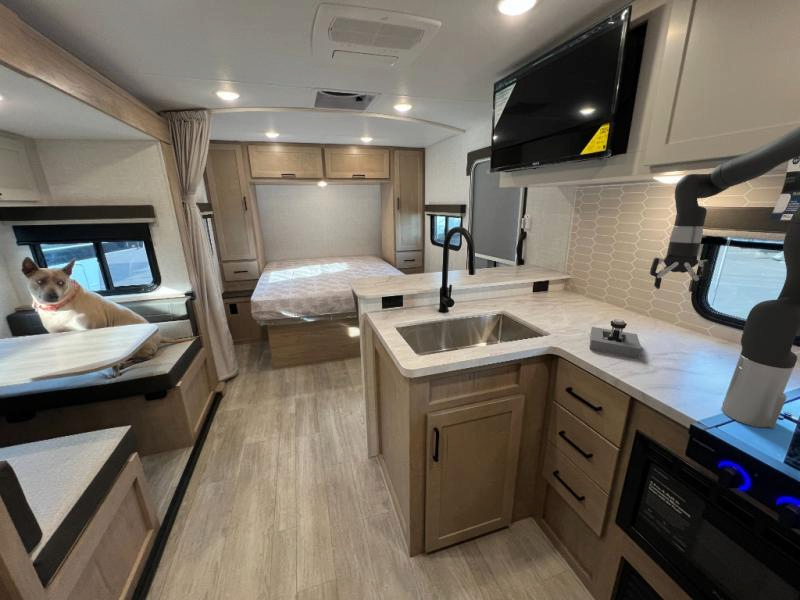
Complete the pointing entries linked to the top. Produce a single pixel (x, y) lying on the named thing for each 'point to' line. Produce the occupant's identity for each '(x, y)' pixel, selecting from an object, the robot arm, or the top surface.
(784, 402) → the robot arm
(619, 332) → the push button
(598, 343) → the housing
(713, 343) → the top surface
